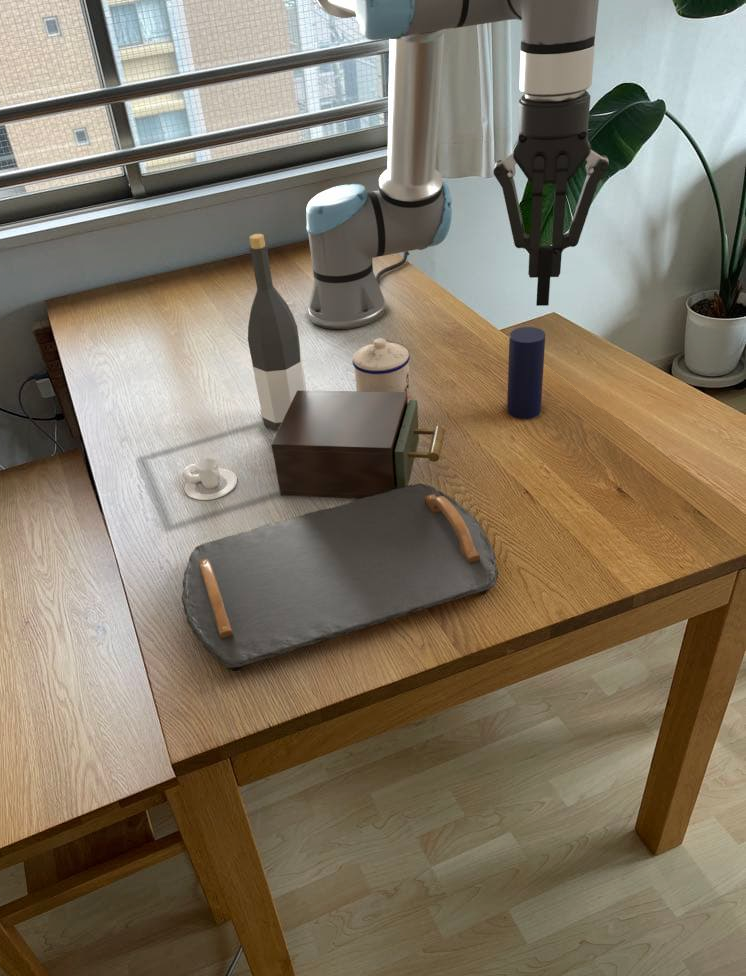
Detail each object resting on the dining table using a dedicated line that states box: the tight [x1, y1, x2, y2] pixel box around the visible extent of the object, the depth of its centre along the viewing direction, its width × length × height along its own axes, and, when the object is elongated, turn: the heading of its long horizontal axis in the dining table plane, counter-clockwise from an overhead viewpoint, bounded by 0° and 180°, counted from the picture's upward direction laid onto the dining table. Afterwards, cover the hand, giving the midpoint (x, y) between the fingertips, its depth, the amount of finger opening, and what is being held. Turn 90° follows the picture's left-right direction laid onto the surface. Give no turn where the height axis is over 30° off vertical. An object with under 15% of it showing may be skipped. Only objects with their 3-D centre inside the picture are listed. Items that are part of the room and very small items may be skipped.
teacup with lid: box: [351, 337, 411, 402], centre depth 132 cm, size 12×9×12 cm
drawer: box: [392, 399, 446, 489], centre depth 118 cm, size 20×14×7 cm
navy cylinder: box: [506, 326, 546, 420], centre depth 125 cm, size 5×5×13 cm
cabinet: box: [270, 390, 408, 500], centre depth 119 cm, size 17×15×9 cm
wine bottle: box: [247, 233, 307, 432], centre depth 125 cm, size 8×8×30 cm
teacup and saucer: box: [182, 457, 238, 501], centre depth 121 cm, size 9×8×4 cm
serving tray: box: [181, 483, 499, 673], centre depth 101 cm, size 39×23×6 cm, turn 108°
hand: (542, 300), depth 103 cm, fingers closed
